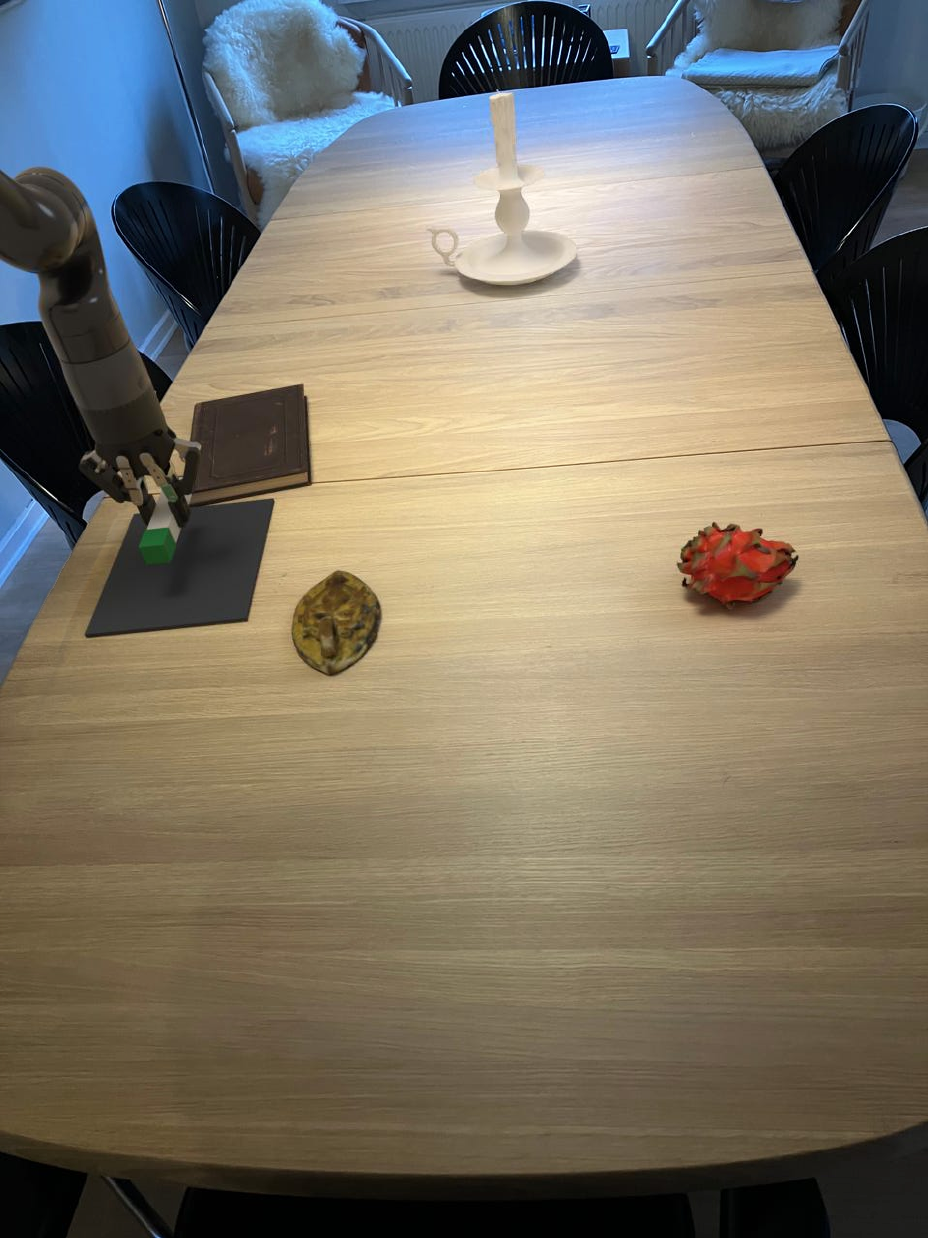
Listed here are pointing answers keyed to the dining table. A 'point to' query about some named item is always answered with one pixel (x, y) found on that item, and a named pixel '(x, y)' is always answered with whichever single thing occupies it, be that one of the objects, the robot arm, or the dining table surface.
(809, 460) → the dining table surface
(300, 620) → the seal
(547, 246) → the candlestick
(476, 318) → the dining table surface
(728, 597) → the dragon fruit
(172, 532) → the marker
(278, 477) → the hardcover book
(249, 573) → the mat
